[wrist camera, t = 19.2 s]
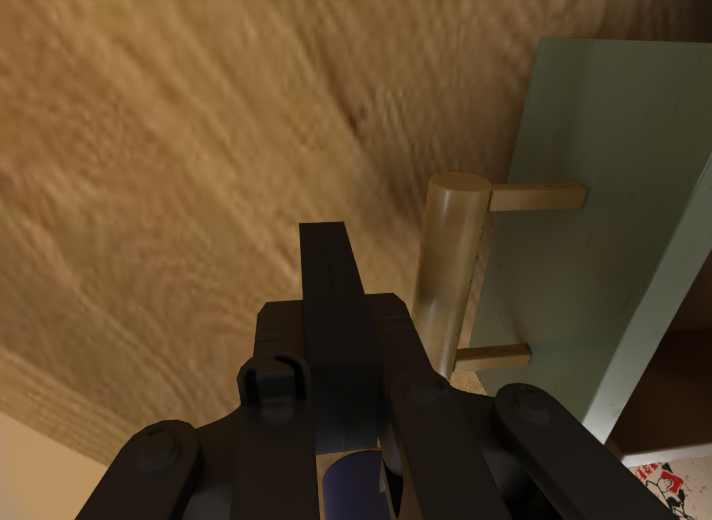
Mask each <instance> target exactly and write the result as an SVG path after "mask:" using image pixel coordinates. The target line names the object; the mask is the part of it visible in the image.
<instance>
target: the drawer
mask: <svg viewBox="0 0 712 520" xmlns="http://www.w3.org/2000/svg"><path fill="white" fill-rule="evenodd" d="M487 210H488V211H500V214H499V218H498V222H497V227H496V231H495V235H494V240H493V244H492V248H491V252H490V257H489V261H488V265H487V270H486V274H485V278H484V283H483V287H482V291H481V296H480V300H479V304H478V309H477V313H476V317H475V321H474V326H473V330H472V334H471V339H470V343H469V347H468V348H463V349H457V347H458V343H459V338H460V333H461V329H462V324H463V319H464V315H465V310H466V305H467V301H468V296H469V291H470V287H471V282H472V277H473V273H474V268H475V263H476V258H477V254H478V249H479V244H480V240H481V235H482V230H483V226H484V221H485V216H486V212H487ZM411 318H412V321H413V323H414V325H415V329H416V330H417V332H418V335H419V337H420V339H421V342H422V344H423V347H424V349H425V351H426V354H427V356H428V358H429V361H430V363H431V365H432V368H433V369H434V371H436V372H438V373H439V374H441V375H442V376H443V377H445V378H446V379H447V381H448V382H450V380H451V376H452V371H453V372H454V373H458V372H469V371H475V373H476V375H477V376H478V378H479V380H480V382H481V384H482V386H483V387H484V389H485V391H486V393H487V395H488V396H491V397H495V396H496V394H497V392H498V390H499V389H500V388H501V387H503V386H505V385H506V384H511V383H524V384H530V385H533V386H536V387H538V388H540V389H542V390H545V391H546V392H547V393H549V394H550V395H551V396H553V397H554V398H555V399H556V400H557V401H559V402H560V403H561V404H562V405H563V406H564V407H565V408H566V409H567V410H568V411H569V412H570V413H571V414H572V415H573V416H574V417H575V418H576V419H577V420H578V421H579V422H580V423H581V424H582V425H583V426H584V427H585V428H586V429H587V430H588V431H590V432H591V433H592V434H593V435H594V436H595V437H596V438H597V439H598V440H599V441H600V442H601V443H602V444H603V445H604V446H605V447H606V448H607V449H608V450H609V451H610V452H611V453H612V454H613V455H614V456H615V457H616V458H617V459H618V460H619V461H621V462H622V463H623V464H624V465H625V466H626V467H631V466H638V465H645V464H652V463H659V462H667V461H674V460H681V459H688V458H695V457H703V456H710V455H712V43H702V42H672V41H643V40H613V39H584V38H555V37H541V38H540V41H539V46H538V50H537V54H536V58H535V63H534V67H533V71H532V76H531V80H530V84H529V89H528V93H527V97H526V102H525V106H524V110H523V115H522V119H521V123H520V127H519V132H518V136H517V140H516V145H515V149H514V153H513V158H512V162H511V166H510V171H509V175H508V179H507V183H506V184H491V183H490V182H489V181H488V180H487V179H485V178H482V177H480V176H477V175H474V174H469V173H463V172H442V173H437V174H434V175H432V176H431V177H430V179H429V185H428V193H427V201H426V208H425V216H424V224H423V232H422V239H421V247H420V255H419V263H418V270H417V278H416V286H415V294H414V302H413V309H412V317H411Z"/></svg>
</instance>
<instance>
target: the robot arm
mask: <svg viewBox="0 0 712 520" xmlns="http://www.w3.org/2000/svg"><path fill="white" fill-rule="evenodd" d="M299 231H300V250H301V270H302V290H303V300H292V301H276V302H266V304H265V305H264V306H263V308H262V309H261V310H260V312H259V313H258V315H257V325H256V334H255V343H254V353H253V357H252V358H250V359H249V360H248V361H247V362H246V363H245V364H244V365H243V366H242V367H241V368H240V371H239V373H238V376H237V383H238V389H239V394H240V400H241V405H240V406H239V407H238V408H237V409H236V410H235V411H233V412H232V413H231V414H229V415H228V416H226V417H224V418H222V419H220V420H218V421H215V422H213V423H210V424H207V425H205V426H202V427H199V428H197V429H195V428H194V427H193V426H192V425H191V424H190V423H187V422H184V421H180V420H164V421H160V422H158V423H155V424H152V425H149V426H147V427H145V428H144V429H142V430H141V431H139V432H138V433H136V434H135V435H133V436H132V437H131V438H130V440H129V441H128V442H127V443H126V444H125V445H124V446H123V447H122V449H121V450H120V452H119V453H118V455H117V456H116V458H115V459H114V461H113V462H112V464H111V465H110V467H109V468H108V470H107V471H106V473H105V474H104V476H103V477H102V479H101V480H100V482H99V483H98V485H97V486H96V488H95V489H94V491H93V492H92V494H91V496H90V497H89V499H88V500H87V502H86V503H85V505H84V506H83V508H82V509H81V511H80V512H79V514H78V515H77V517H76V518H75V520H320V512H319V497H318V482H317V468H316V455H321V454H329V453H337V452H345V451H354V450H362V449H370V448H377V441H378V437H379V442H380V446H381V451H382V460H381V471H380V481H379V492H384V490H385V492H386V496H387V501H388V506H389V511H390V516H391V520H680V519H679V518H678V517H677V516H676V515H675V514H674V513H673V512H672V511H671V510H670V509H669V508H668V507H667V506H666V505H665V504H664V503H663V502H662V501H661V500H660V499H659V498H658V497H657V496H656V495H655V494H654V493H653V492H652V491H650V490H649V489H648V488H647V487H646V486H645V485H644V484H643V483H642V482H641V481H640V480H639V479H638V478H637V477H636V476H635V475H634V474H633V473H632V472H631V471H630V470H629V469H628V468H627V467H626V466H625V465H624V464H623V463H622V462H621V461H619V460H618V459H617V458H616V457H615V456H614V455H613V454H612V453H611V452H610V451H609V450H608V449H607V448H606V447H605V446H604V445H603V444H602V443H601V442H600V441H599V440H598V439H597V438H596V437H595V436H594V435H593V434H592V433H591V432H590V431H588V430H587V429H586V428H585V427H584V426H583V425H582V424H581V423H580V422H579V421H578V420H577V419H576V418H575V417H574V416H573V415H572V414H571V413H570V412H569V411H568V410H567V409H566V408H565V407H564V406H563V405H562V404H561V403H560V402H559V401H557V400H556V399H555V398H554V397H553V396H551V395H550V394H549V393H547V392H546V391H545V390H542V389H540V388H538V387H536V386H533V385H530V384H524V383H511V384H506V385H505V386H503V387H501V388H500V389H499V390H498V392H497V394H496V396H495V397H491V396H485V395H479V394H474V393H468V392H465V391H461V390H458V389H456V388H454V387H452V386H451V385H450V383H449V382H448V381H447V379H446V378H445V377H443V376H442V375H441V374H439V373H438V372H436V371H434V369H433V368H432V365H431V363H430V361H429V358H428V356H427V354H426V351H425V349H424V347H423V344H422V342H421V339H420V337H419V335H418V332H417V330H416V329H415V325H414V323H413V321H412V318H410V314H409V311H408V309H407V307H406V304H405V303H404V302H403V301H402V300H401V299H400V298H399V297H398V296H396V295H395V294H394V293H380V294H365V293H364V290H363V286H362V283H361V279H360V276H359V272H358V269H357V265H356V262H355V259H354V255H353V252H352V248H351V245H350V241H349V238H348V234H347V231H346V228H345V224H344V222H319V223H299Z"/></svg>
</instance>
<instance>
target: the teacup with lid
mask: <svg viewBox="0 0 712 520" xmlns="http://www.w3.org/2000/svg"><path fill="white" fill-rule="evenodd" d="M627 468H628V469H629V470H630V471H631V472H632V473H633V474H634V475H635V476H636V477H637V478H638V479H639V480H640V481H641V482H642V483H643V484H644V485H645V486H646V487H647V488H648V489H649V490H650V491H652V492H653V493H654V494H655V495H656V496H657V497H658V498H659V499H660V500H661V501H662V502H663V503H664V504H665V505H666V506H667V507H668V508H669V509H670V510H671V511H672V512H673V513H674V514H675V515H676V516H677V517H678V518H679V519H680V520H712V455H710V456H703V457H695V458H688V459H681V460H674V461H667V462H659V463H652V464H645V465H638V466H631V467H627Z"/></svg>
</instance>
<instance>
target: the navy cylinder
mask: <svg viewBox="0 0 712 520" xmlns="http://www.w3.org/2000/svg"><path fill="white" fill-rule="evenodd" d="M381 460H382V452H378V451H368V452H361V453H356V454H353V455H350V456H347V457H345V458H343V459H341V460H339V461H337V462H336V463H334V464H333V465H332V466H331V467H330V468H329V469H328V470H327V471H326V473H325V475H324V477H323V481H322V486H323V499H324V512H325V520H391V516H390V511H389V506H388V501H387V496H386V492H385V490H384V492H379V481H380V471H381Z"/></svg>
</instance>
